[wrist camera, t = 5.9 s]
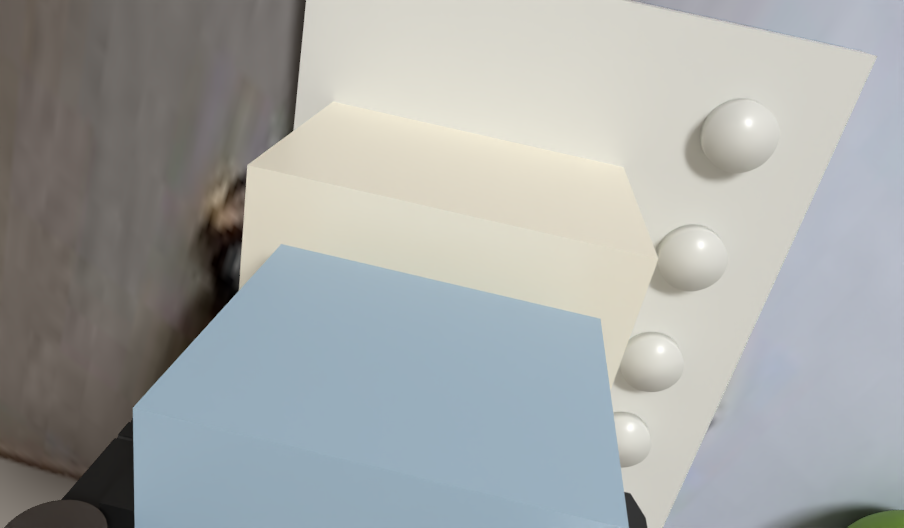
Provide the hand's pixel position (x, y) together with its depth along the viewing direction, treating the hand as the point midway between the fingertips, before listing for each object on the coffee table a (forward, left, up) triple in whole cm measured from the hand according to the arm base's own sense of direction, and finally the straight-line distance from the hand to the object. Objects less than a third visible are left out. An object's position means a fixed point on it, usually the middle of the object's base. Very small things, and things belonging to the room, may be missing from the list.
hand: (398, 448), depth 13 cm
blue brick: (0, 0, -1) cm, 1 cm away
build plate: (+1, +2, -9) cm, 9 cm away
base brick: (0, 0, -8) cm, 8 cm away
